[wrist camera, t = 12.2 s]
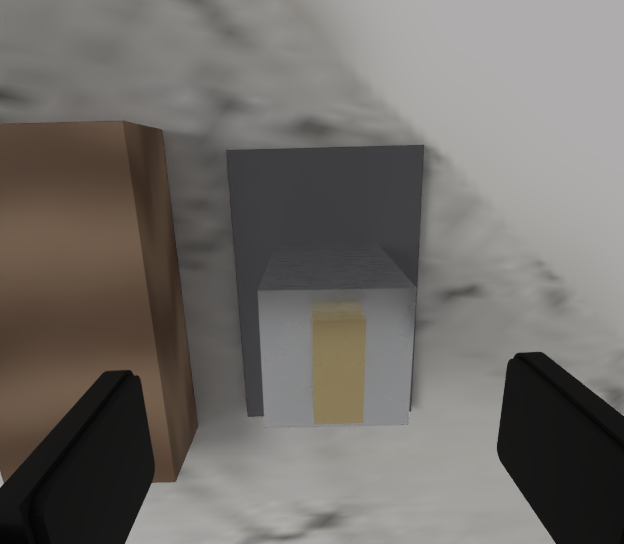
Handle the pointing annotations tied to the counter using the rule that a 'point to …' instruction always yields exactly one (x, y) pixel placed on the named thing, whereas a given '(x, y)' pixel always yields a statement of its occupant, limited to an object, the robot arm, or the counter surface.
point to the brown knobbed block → (89, 283)
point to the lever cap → (335, 337)
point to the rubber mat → (318, 218)
